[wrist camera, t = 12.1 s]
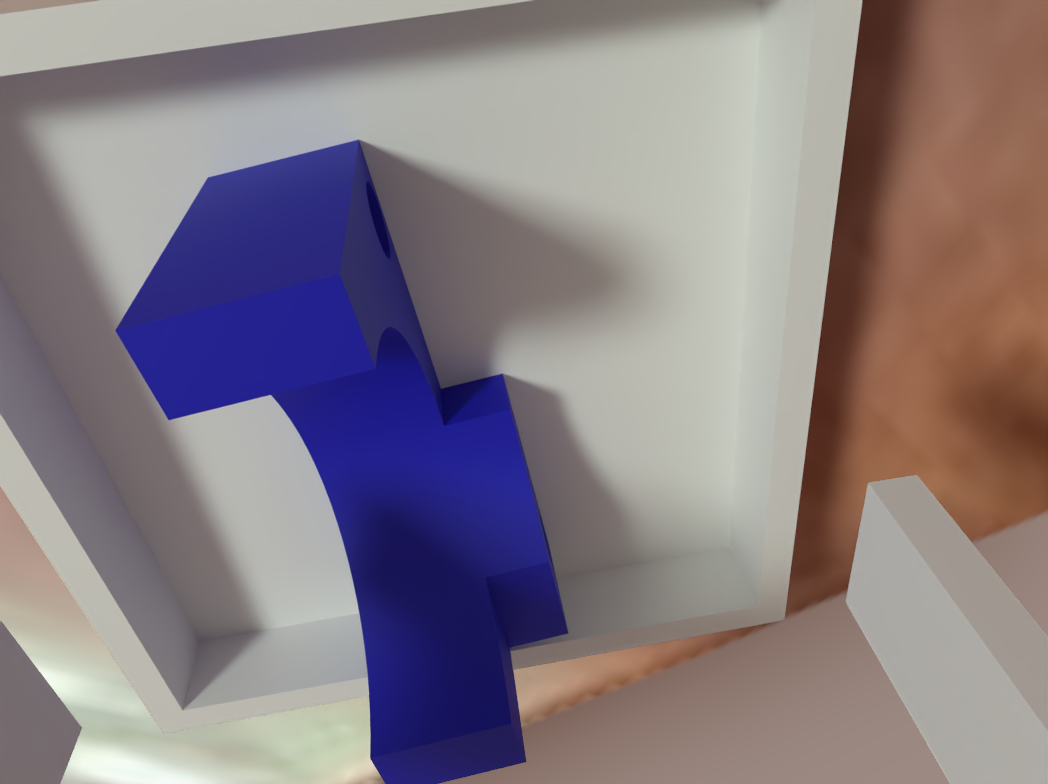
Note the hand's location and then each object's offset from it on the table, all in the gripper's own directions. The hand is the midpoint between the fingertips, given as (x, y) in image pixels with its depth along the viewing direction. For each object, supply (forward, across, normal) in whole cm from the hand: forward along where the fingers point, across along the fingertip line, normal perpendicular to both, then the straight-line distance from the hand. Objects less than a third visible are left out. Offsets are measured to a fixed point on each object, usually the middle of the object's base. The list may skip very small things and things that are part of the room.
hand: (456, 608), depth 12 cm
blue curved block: (+7, +1, +1) cm, 7 cm away
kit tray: (+8, +1, 0) cm, 8 cm away
